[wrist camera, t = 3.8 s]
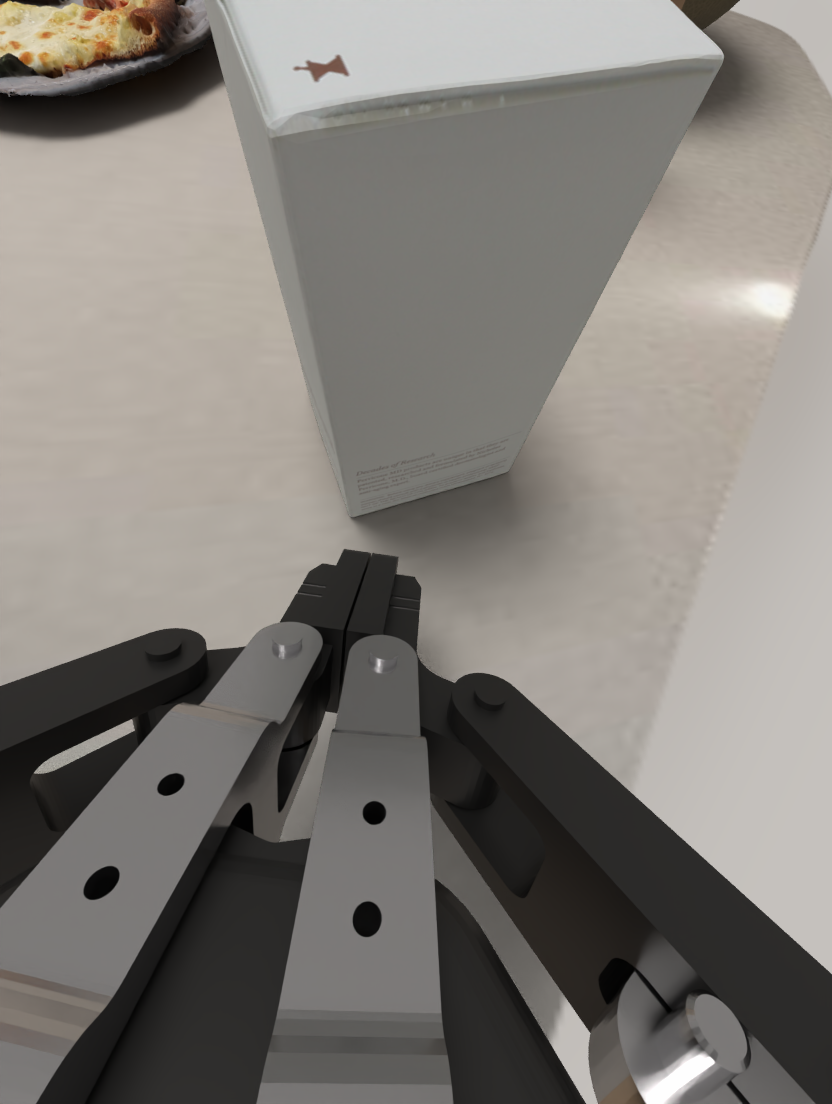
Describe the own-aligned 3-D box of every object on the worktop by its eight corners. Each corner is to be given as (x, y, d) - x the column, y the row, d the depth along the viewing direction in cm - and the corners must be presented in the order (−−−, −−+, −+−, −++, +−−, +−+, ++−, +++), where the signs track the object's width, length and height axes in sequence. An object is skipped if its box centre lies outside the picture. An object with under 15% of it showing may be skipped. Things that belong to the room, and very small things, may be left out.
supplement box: (513, 475, 18) (753, 56, 6) (347, 522, 17) (246, 119, 5) (454, 345, 20) (548, -157, 8) (303, 379, 19) (156, -147, 7)
